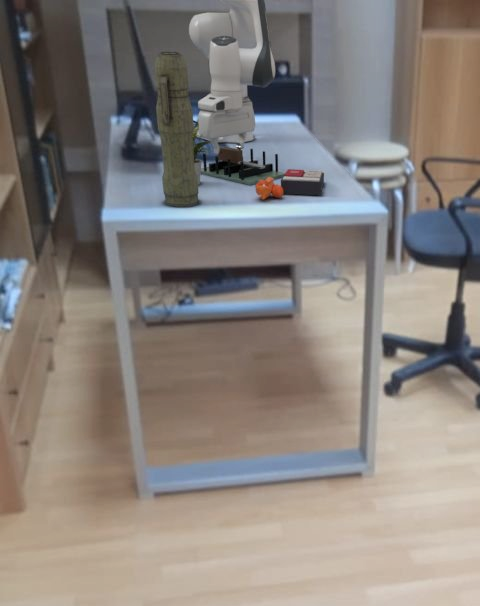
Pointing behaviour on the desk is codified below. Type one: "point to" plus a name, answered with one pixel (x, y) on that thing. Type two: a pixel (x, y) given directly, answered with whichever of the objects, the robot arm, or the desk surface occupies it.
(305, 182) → the calculator
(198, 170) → the house plant
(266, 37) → the robot arm
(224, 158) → the knife
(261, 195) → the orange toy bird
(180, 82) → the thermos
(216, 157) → the rack
